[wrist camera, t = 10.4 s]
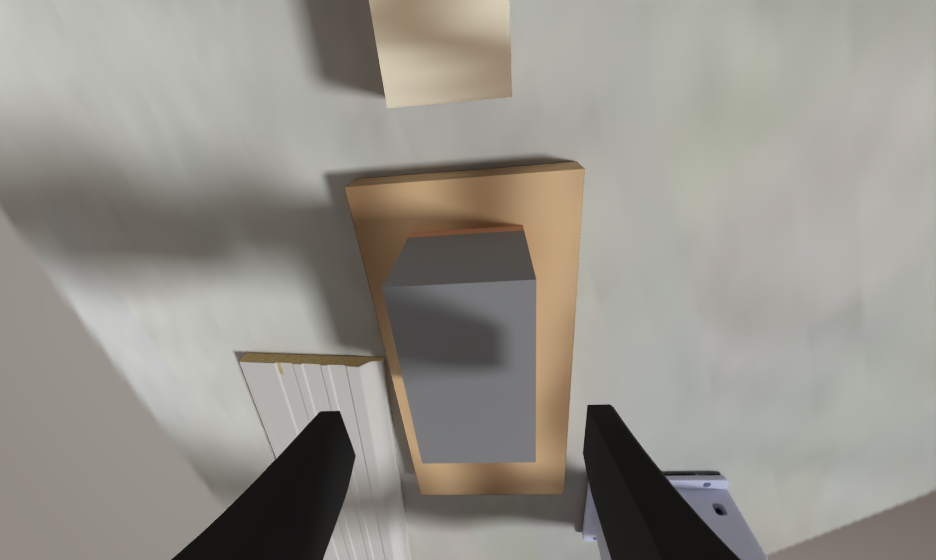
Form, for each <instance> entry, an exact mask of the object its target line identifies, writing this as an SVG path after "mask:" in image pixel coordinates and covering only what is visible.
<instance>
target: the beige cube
mask: <svg viewBox="0 0 936 560" xmlns="http://www.w3.org/2000/svg"><path fill="white" fill-rule="evenodd" d="M369 5H370V11H371V17H372V23H373V28H374V34H375V40H376V46H377V52H378V57H379V63H380V69H381V75H382V81H383V86H384V92H385V98H386V104H387V108H396V107H407V106H417V105H428V104H439V103H450V102H460V101H471V100H482V99H493V98H503V97H512V82H511V41H510V1H509V0H369Z"/></svg>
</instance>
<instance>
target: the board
mask: <svg viewBox="0 0 936 560" xmlns="http://www.w3.org/2000/svg"><path fill="white" fill-rule="evenodd" d="M584 174H585V168H583V167H582V166H581V165H580V164H579V163H578V162H565V163H553V164H540V165H527V166H514V167H502V168H489V169H476V170H464V171H451V172H438V173H426V174H413V175H400V176H388V177H375V178H362V179H355V180H354V181H352V182H351V183H350V184H348V185H347V186H346V187H345V191H346V195H347V199H348V203H349V207H350V211H351V215H352V219H353V223H354V227H355V231H356V235H357V239H358V243H359V247H360V251H361V255H362V259H363V263H364V267H365V271H366V275H367V279H368V283H369V287H370V291H371V295H372V300H373V304H374V308H375V312H376V316H377V320H378V324H379V328H380V332H381V336H382V340H383V344H384V348H385V352H386V356H387V360H388V364H389V368H390V372H391V376H392V380H393V384H394V388H395V392H396V396H397V400H398V404H399V408H400V412H401V416H402V420H403V424H404V428H405V432H406V436H407V440H408V444H409V448H410V452H411V456H412V461H413V465H414V469H415V473H416V477H417V481H418V485H419V489H420V493H421V495H509V494H564V480H565V465H566V450H567V434H568V419H569V404H570V388H571V373H572V358H573V342H574V327H575V312H576V296H577V281H578V266H579V250H580V235H581V220H582V204H583V189H584ZM521 225H523V228H524V232H525V236H526V240H527V244H528V248H529V252H530V256H531V260H532V264H533V268H534V272H535V276H536V462H520V463H429V464H422V461H421V457H420V452H419V448H418V444H417V439H416V435H415V430H414V426H413V422H412V417H411V413H410V408H409V404H408V400H407V395H406V391H405V386H404V382H403V378H402V373H401V369H400V364H399V360H398V356H397V351H396V347H395V342H394V338H393V334H392V329H391V325H390V320H389V316H388V312H387V307H386V303H385V298H384V294H383V290H382V287H383V285H384V283H385V281H386V279H387V277H388V275H389V273H390V271H391V269H392V268H393V266H394V264H395V262H396V260H397V258H398V256H399V254H400V252H401V250H402V248H403V246H404V244H405V243H406V241H407V239H408V237H409V235H410V233H413V232H429V231H444V230H460V229H475V228H490V227H506V226H521Z"/></svg>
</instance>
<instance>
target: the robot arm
mask: <svg viewBox="0 0 936 560" xmlns="http://www.w3.org/2000/svg"><path fill="white" fill-rule="evenodd" d="M583 455H584V460H585V466H586V471H587V476H588V487H587V496H586V505H585V513H584V522H583V531H582V535H583V539H584V540H585V541H597V543H598V547H599V551H600V555H601V560H768V558H767V557H766V555H765V553H764V551H763V550H762V548H761V546H760V545H759V543H758V541H757V540H756V538H755V536H754V535H753V533H752V531H751V529H750V528H749V526H748V524H747V523H746V521H745V519H744V518H743V516H742V514H741V512H740V511H739V509H738V507H737V506H736V504H735V502H734V501H733V499H732V497H731V495H730V494H729V492H728V490H727V488H728V486H729V481H728V479H727V478H726V477H725V476H723V475H692V476H665V475H664V474H663V473H662V472H661V470H660V469H659V468H658V467H657V465H656V464H655V463H654V462H653V461H652V459H651V458H650V457H649V455H648V454H647V453H646V452H645V450H644V449H643V448H642V446H641V445H640V444H639V442H638V441H637V440H636V438H635V437H634V436H633V434H632V433H631V432H630V430H629V429H628V427H627V426H626V425H625V423H624V422H623V420H622V419H621V418H620V416H619V415H618V413H617V412H616V410H615V409H614V407H612V406H611V405H588V407H587V418H586V428H585V438H584V449H583ZM355 457H356V455H355V452H354V449H353V446H352V444H351V441H350V438H349V435H348V432H347V430H346V427H345V424H344V421H343V418H342V416H341V413H340V411H320V412H319V413H318V414H317V415H316V416H315V417H314V418H313V419H312V421H311V422H310V423H309V424H308V425H307V426H306V427H305V428H304V429H303V430H302V431H301V432H300V434H299V435H298V436H297V437H296V438H295V439H294V440H293V441H292V442H291V443H290V444H289V446H288V447H287V448H286V449H285V450H284V451H283V452H282V453H281V454H280V455H279V456H278V457H277V459H276V460H275V461H274V462H273V463H272V464H271V465H270V466H269V467H268V468H267V469H266V470H265V471H264V472H263V473H262V474H261V475H260V477H259V478H258V479H257V480H256V481H255V482H254V483H253V484H252V485H251V486H250V487H249V488H248V489H247V490H246V491H245V492H244V493H243V494H242V495H241V496H240V497H239V498H238V499H237V500H236V501H235V502H234V503H233V504H232V505H231V506H230V507H229V508H228V509H227V510H226V511H225V512H224V513H223V514H222V515H221V516H219V517H218V519H216V520H215V521H214V522H213V523H212V524H211V525H210V526H209V527H208V528H207V529H206V530H205V531H203V533H201V534H200V535H199V536H198V537H197V538H196V539H194V540H193V541H192V542H191V543H190V544H189V545H188V546H187V547H185V548H184V549H183V550H182V551H181V552H180V553H179V554H177V555H176V556H175V557H174V558H173V559H172V560H323V558H324V555H325V553H326V550H327V547H328V544H329V542H330V539H331V536H332V533H333V531H334V528H335V525H336V522H337V520H338V517H339V514H340V511H341V508H342V506H343V503H344V500H345V497H346V494H347V491H348V487H349V483H350V479H351V475H352V471H353V466H354V462H355Z"/></svg>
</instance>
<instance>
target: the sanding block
mask: <svg viewBox="0 0 936 560" xmlns="http://www.w3.org/2000/svg"><path fill="white" fill-rule="evenodd" d="M382 290H383V294H384V298H385V303H386V307H387V312H388V316H389V320H390V325H391V329H392V334H393V338H394V342H395V347H396V351H397V356H398V360H399V364H400V369H401V373H402V378H403V382H404V386H405V391H406V395H407V400H408V404H409V408H410V413H411V417H412V422H413V426H414V430H415V435H416V439H417V444H418V448H419V452H420V457H421V461H422V464H429V463H520V462H536V276H535V272H534V268H533V264H532V260H531V256H530V252H529V248H528V244H527V240H526V236H525V232H524V228H523V225H521V226H506V227H490V228H475V229H460V230H444V231H429V232H413V233H410V235H409V237H408V239H407V241H406V243H405V244H404V246H403V248H402V250H401V252H400V254H399V256H398V258H397V260H396V262H395V264H394V266H393V268H392V269H391V271H390V273H389V275H388V277H387V279H386V281H385V283H384V285H383V287H382Z"/></svg>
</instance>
